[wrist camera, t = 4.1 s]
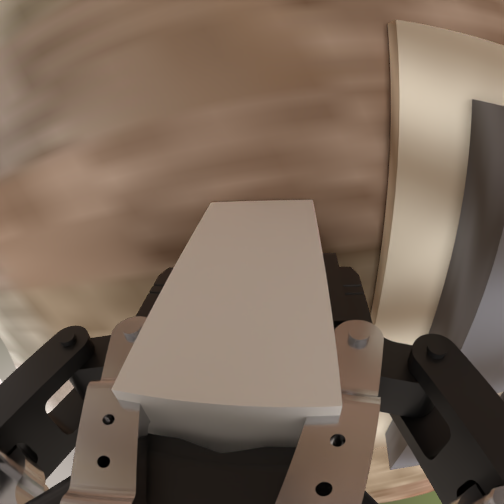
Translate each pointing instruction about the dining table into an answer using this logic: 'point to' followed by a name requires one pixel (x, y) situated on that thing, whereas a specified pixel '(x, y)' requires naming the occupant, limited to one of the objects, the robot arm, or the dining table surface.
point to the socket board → (443, 204)
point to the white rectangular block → (239, 333)
